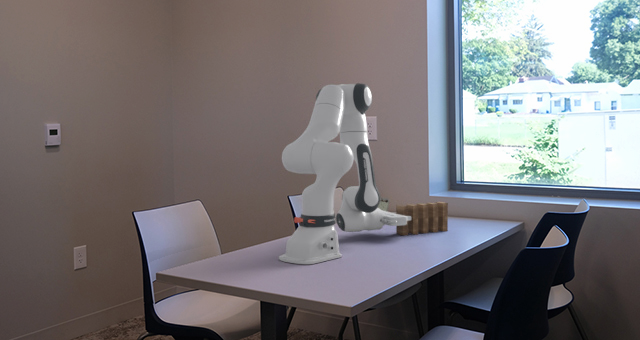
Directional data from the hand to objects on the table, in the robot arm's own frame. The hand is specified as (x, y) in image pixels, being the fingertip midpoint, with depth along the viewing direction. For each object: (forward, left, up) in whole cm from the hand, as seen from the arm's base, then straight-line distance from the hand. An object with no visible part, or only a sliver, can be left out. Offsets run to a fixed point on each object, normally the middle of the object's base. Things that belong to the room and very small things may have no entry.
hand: (403, 216), depth 219 cm
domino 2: (+4, -2, -7) cm, 9 cm away
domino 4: (+12, -7, -7) cm, 16 cm away
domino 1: (-1, 0, -7) cm, 8 cm away
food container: (+31, +30, -8) cm, 44 cm away
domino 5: (+17, -10, -7) cm, 21 cm away
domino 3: (+8, -5, -7) cm, 12 cm away
